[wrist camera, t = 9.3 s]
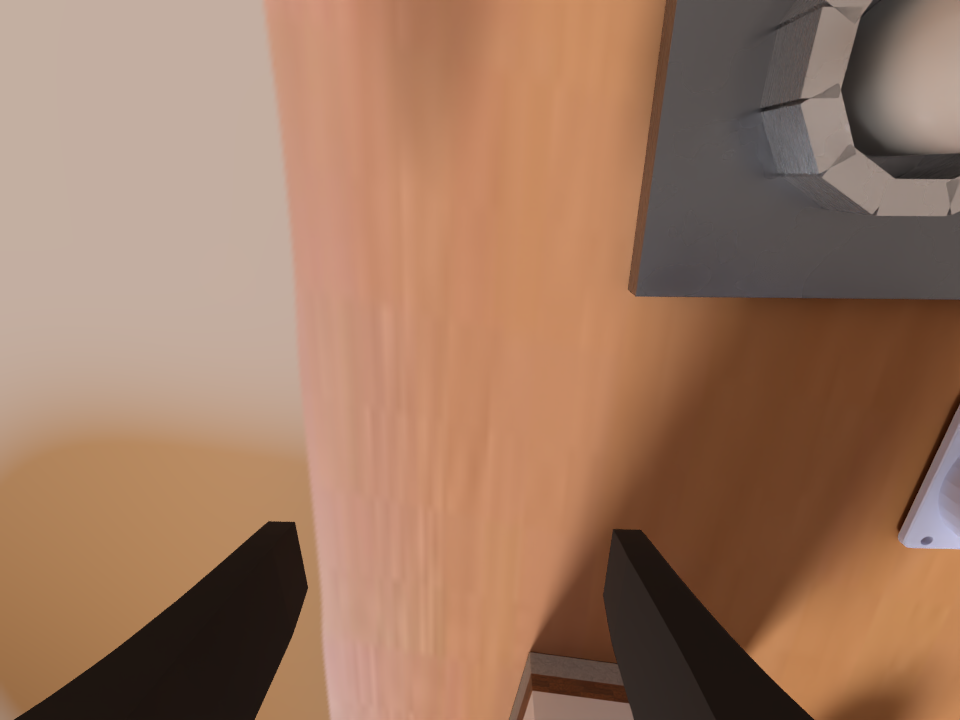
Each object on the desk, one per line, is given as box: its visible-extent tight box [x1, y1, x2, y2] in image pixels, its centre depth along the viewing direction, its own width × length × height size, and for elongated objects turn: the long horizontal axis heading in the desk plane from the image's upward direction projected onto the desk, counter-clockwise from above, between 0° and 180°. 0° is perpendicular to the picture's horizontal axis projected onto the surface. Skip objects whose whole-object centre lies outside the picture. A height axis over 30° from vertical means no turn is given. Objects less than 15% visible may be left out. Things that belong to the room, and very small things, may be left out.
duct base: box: [628, 0, 960, 300], centre depth 13 cm, size 14×14×3 cm
